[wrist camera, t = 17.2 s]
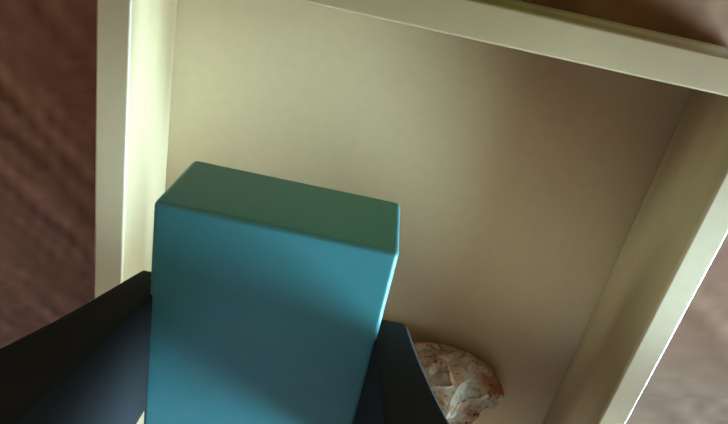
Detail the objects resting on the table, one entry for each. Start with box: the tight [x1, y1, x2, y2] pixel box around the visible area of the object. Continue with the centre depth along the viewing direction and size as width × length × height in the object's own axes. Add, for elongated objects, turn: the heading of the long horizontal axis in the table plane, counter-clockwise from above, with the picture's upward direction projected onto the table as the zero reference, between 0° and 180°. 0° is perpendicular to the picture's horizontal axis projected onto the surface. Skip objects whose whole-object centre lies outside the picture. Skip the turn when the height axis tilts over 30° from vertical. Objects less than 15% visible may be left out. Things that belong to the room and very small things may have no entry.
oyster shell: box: [413, 341, 504, 424], centre depth 20 cm, size 10×4×5 cm
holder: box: [94, 0, 728, 424], centre depth 18 cm, size 20×16×4 cm
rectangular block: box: [144, 161, 400, 424], centre depth 12 cm, size 6×4×2 cm, turn 169°
